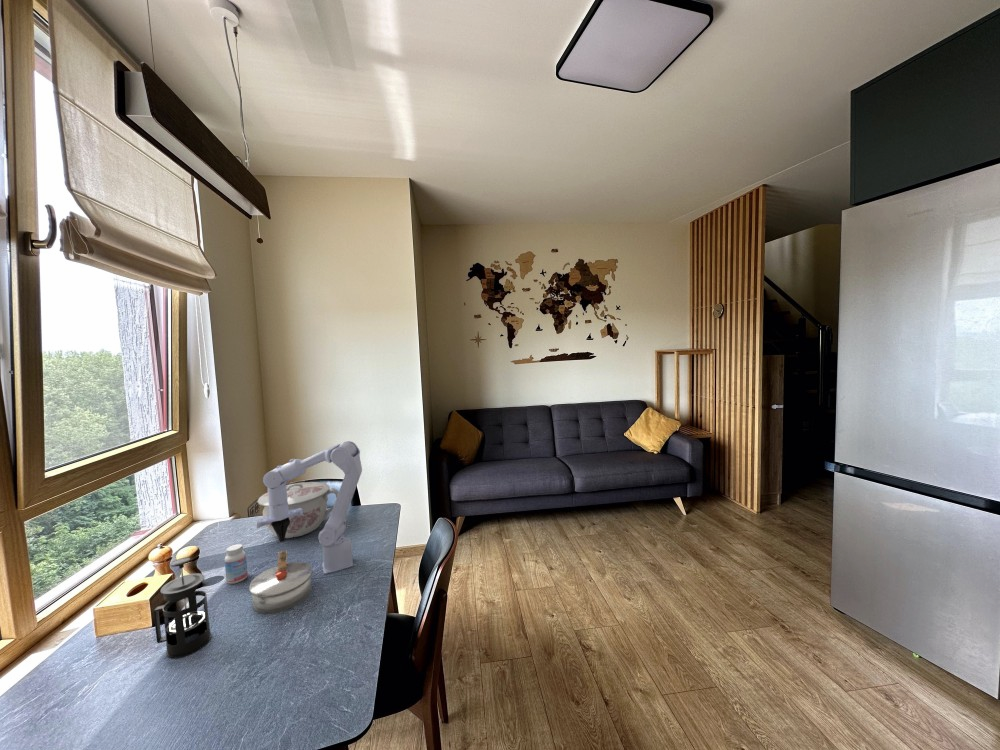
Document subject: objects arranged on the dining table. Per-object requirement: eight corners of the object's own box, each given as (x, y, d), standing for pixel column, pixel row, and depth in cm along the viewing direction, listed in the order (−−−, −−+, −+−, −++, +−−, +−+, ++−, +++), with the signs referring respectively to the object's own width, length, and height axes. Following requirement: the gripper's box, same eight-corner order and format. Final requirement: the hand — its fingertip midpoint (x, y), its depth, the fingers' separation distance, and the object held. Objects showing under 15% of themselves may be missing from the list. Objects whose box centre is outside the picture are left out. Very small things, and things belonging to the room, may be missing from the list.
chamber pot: (245, 541, 161) (240, 492, 160) (302, 514, 186) (298, 471, 185) (294, 551, 150) (289, 499, 149) (347, 521, 176) (343, 476, 174)
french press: (219, 627, 109) (211, 547, 108) (207, 650, 100) (198, 564, 99) (167, 639, 105) (158, 557, 104) (150, 665, 96) (140, 575, 95)
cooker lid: (312, 585, 118) (312, 575, 118) (246, 604, 110) (245, 594, 110) (310, 552, 138) (310, 544, 138) (254, 567, 130) (253, 558, 130)
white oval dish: (309, 567, 138) (308, 553, 138) (312, 601, 119) (311, 585, 118) (256, 581, 131) (255, 567, 131) (250, 621, 111) (249, 604, 111)
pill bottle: (237, 585, 129) (234, 552, 129) (222, 583, 131) (218, 551, 130) (252, 574, 135) (249, 543, 135) (237, 573, 137) (234, 542, 136)
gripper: (296, 494, 144) (299, 529, 145) (251, 506, 134) (254, 545, 135) (303, 498, 139) (306, 535, 140) (257, 512, 129) (260, 551, 130)
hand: (281, 540), depth 137 cm, fingers closed
